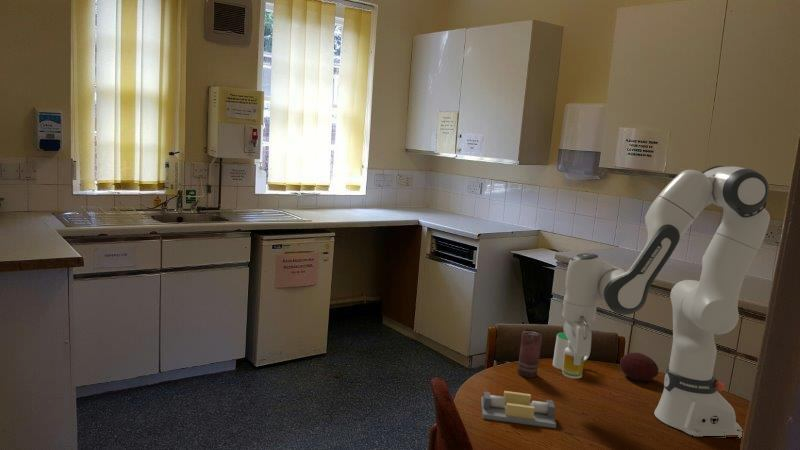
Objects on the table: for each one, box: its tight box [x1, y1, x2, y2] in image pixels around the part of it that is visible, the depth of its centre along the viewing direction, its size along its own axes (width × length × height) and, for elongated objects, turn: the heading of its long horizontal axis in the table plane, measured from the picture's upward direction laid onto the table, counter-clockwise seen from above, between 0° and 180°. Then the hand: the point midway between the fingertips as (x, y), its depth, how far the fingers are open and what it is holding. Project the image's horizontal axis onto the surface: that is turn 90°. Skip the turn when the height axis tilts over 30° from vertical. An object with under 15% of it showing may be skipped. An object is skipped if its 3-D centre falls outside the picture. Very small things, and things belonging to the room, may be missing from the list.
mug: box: [552, 332, 591, 371], centre depth 204 cm, size 12×8×10 cm, turn 102°
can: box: [517, 329, 543, 379], centre depth 193 cm, size 6×6×14 cm
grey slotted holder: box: [480, 390, 557, 429], centre depth 164 cm, size 19×11×4 cm, turn 85°
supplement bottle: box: [561, 341, 585, 379], centre depth 169 cm, size 5×5×10 cm
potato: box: [619, 352, 659, 381], centre depth 199 cm, size 12×11×8 cm
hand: (574, 359), depth 169 cm, fingers closed on supplement bottle, 5 cm apart
